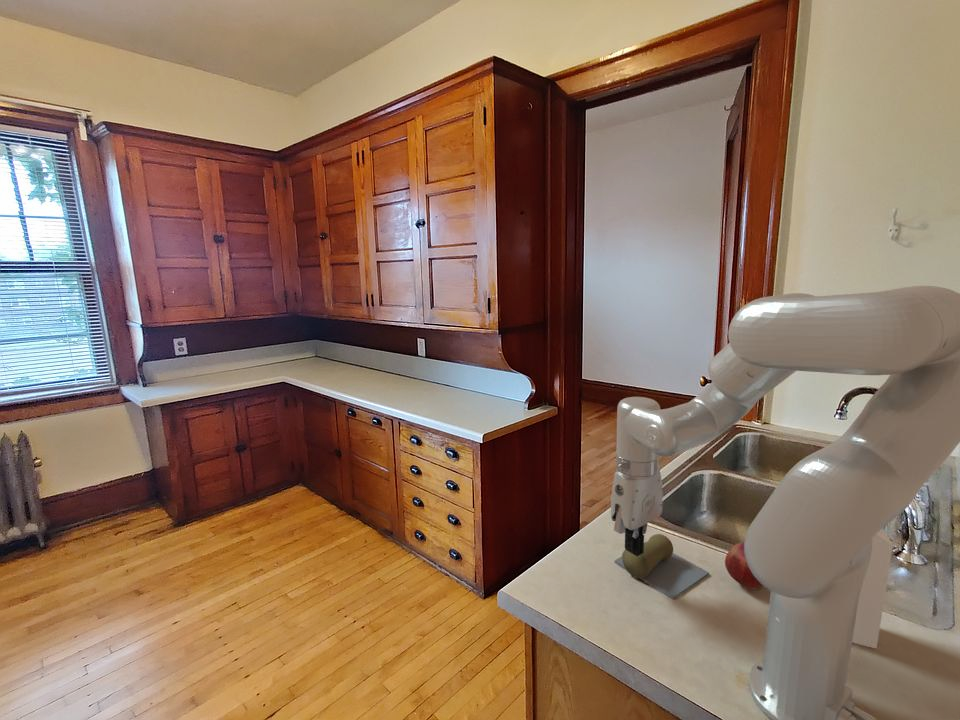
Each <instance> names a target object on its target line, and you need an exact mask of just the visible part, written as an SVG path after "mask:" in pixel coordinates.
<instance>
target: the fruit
mask: <svg viewBox="0 0 960 720" xmlns="http://www.w3.org/2000/svg"><path fill="white" fill-rule="evenodd" d="M724 566H725V568H726V570H727V572H728V574H729V577H731V578H732V579H733V580H735V582H736V583H738V584H739V585H741V587H743V588H745V589H746V588H747V589H748V590H755V589H761V588H763V587H764V586H763V585H762V584H761V583H760V582H759V581H758V580H757V579H756V578H755V576H754V575H753V574H752V572H751V570H750V568H749V566H748V564H747V561H746V558H745V554H744V542H739V543H736V544H734V545H733V546H732V547H730V548H729V550H728V552H727V554H726V556H725V559H724Z"/></svg>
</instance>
